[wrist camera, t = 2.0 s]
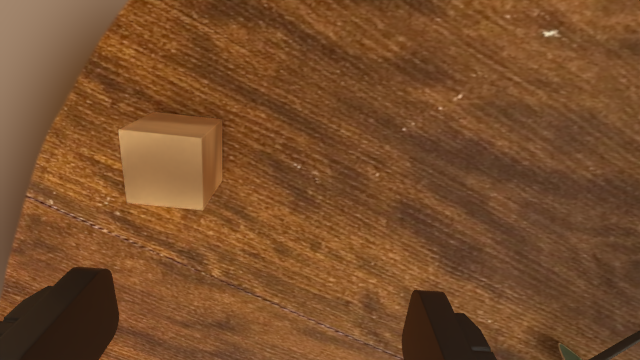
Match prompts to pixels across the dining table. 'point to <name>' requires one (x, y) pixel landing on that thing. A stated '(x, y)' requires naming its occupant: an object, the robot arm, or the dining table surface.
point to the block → (171, 160)
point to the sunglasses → (569, 356)
